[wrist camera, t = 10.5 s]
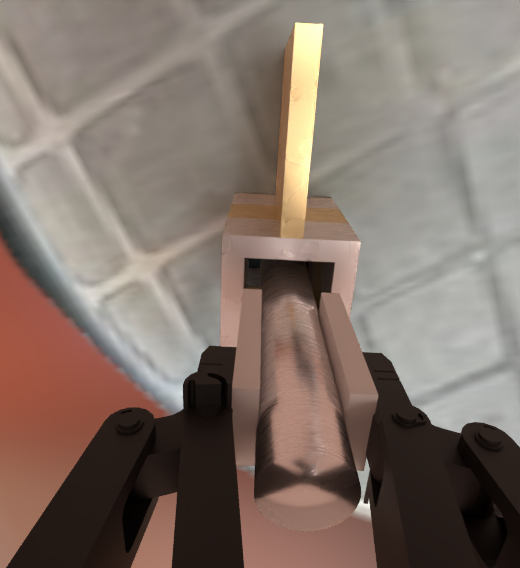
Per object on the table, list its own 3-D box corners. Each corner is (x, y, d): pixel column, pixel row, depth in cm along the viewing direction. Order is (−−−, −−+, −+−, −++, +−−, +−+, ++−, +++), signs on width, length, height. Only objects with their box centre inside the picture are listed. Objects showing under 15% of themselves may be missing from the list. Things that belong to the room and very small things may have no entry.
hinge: (239, 46, 24) (225, 18, 15) (348, 53, 24) (392, 28, 15) (230, 379, 32) (218, 475, 24) (309, 382, 32) (325, 480, 24)
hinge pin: (261, 237, 24) (256, 451, 10) (306, 239, 24) (368, 456, 10) (259, 278, 25) (251, 529, 11) (302, 280, 25) (353, 533, 11)
